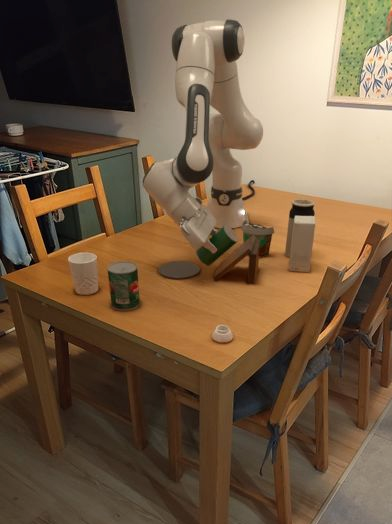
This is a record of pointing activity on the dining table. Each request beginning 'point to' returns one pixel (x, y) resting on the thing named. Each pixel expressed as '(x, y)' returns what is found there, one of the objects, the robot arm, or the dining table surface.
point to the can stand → (237, 255)
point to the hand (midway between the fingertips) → (218, 246)
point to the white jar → (222, 334)
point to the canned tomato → (123, 285)
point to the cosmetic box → (302, 243)
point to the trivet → (179, 270)
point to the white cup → (84, 272)
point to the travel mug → (298, 209)
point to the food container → (258, 236)
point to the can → (217, 245)
